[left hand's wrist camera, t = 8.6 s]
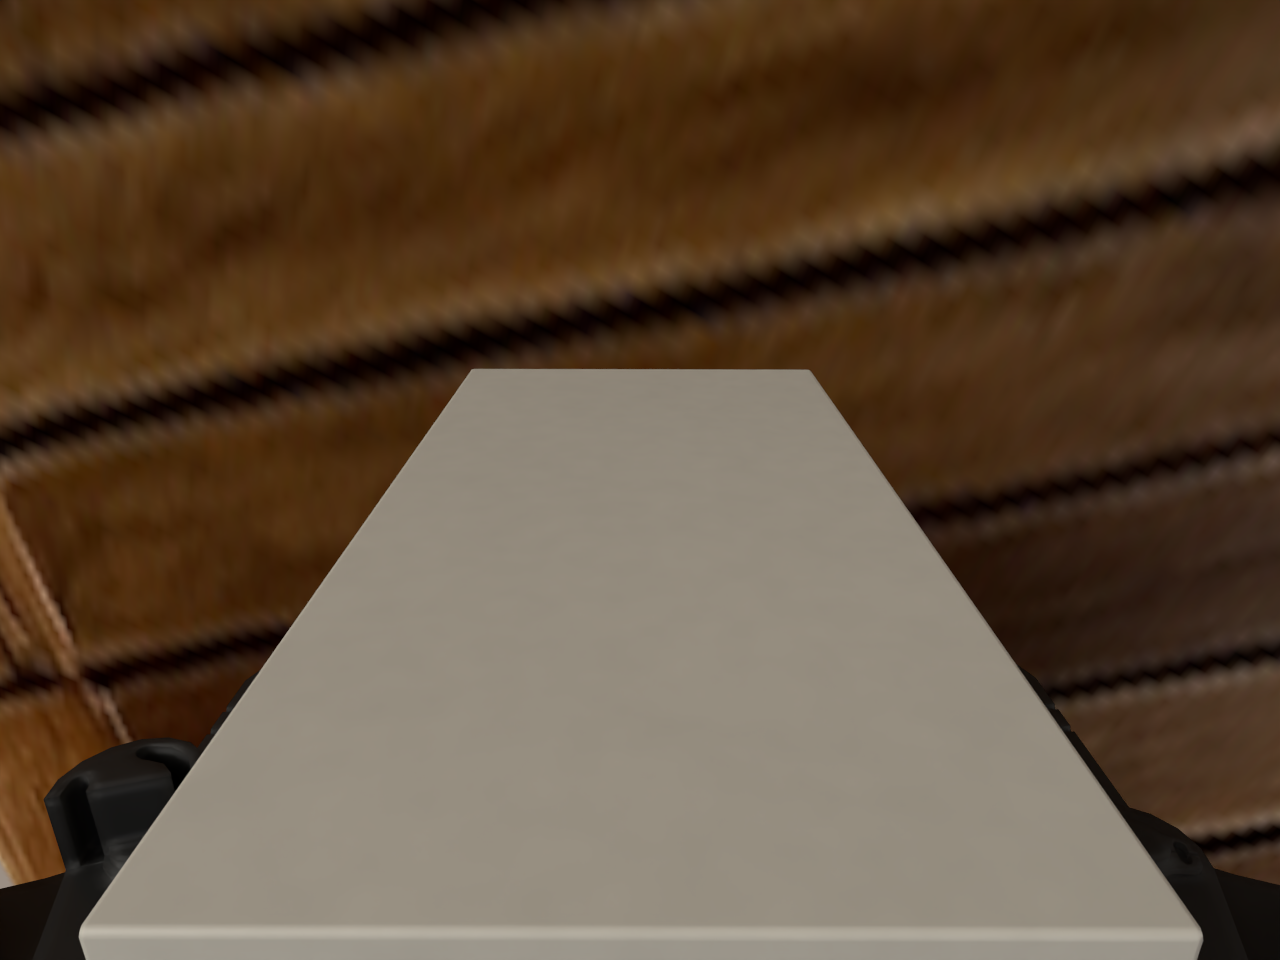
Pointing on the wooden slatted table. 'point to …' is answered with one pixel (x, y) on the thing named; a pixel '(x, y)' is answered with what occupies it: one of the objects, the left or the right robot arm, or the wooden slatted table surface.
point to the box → (640, 718)
